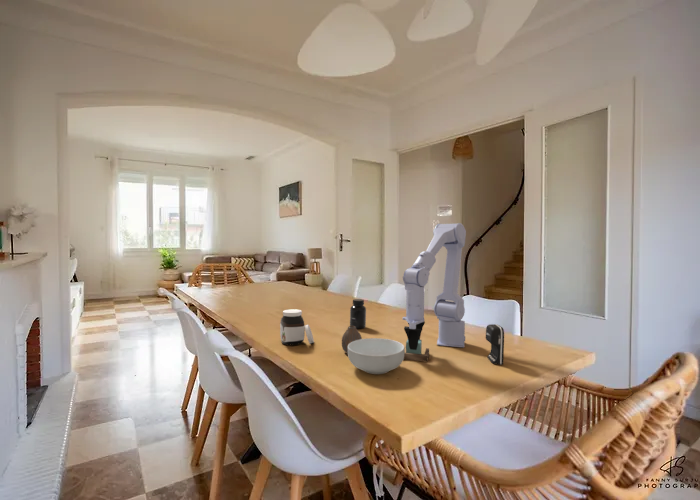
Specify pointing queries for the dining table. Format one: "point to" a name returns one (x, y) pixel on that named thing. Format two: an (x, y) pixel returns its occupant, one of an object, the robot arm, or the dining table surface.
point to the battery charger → (495, 343)
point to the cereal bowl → (376, 354)
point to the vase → (350, 337)
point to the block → (414, 350)
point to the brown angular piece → (417, 356)
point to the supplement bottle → (358, 314)
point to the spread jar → (294, 328)
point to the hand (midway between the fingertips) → (414, 345)
